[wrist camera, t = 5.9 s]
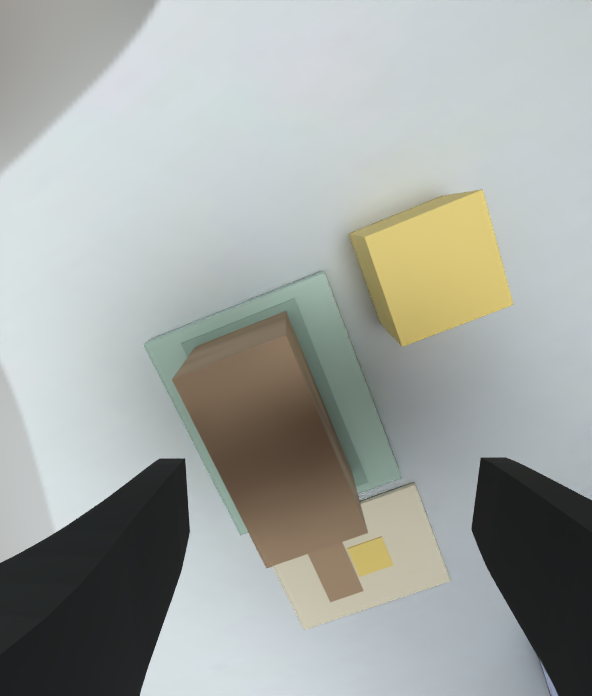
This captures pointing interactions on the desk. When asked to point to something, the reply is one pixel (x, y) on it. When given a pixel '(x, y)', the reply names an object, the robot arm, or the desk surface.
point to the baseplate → (324, 363)
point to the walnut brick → (272, 440)
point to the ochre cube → (433, 266)
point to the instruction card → (367, 562)
